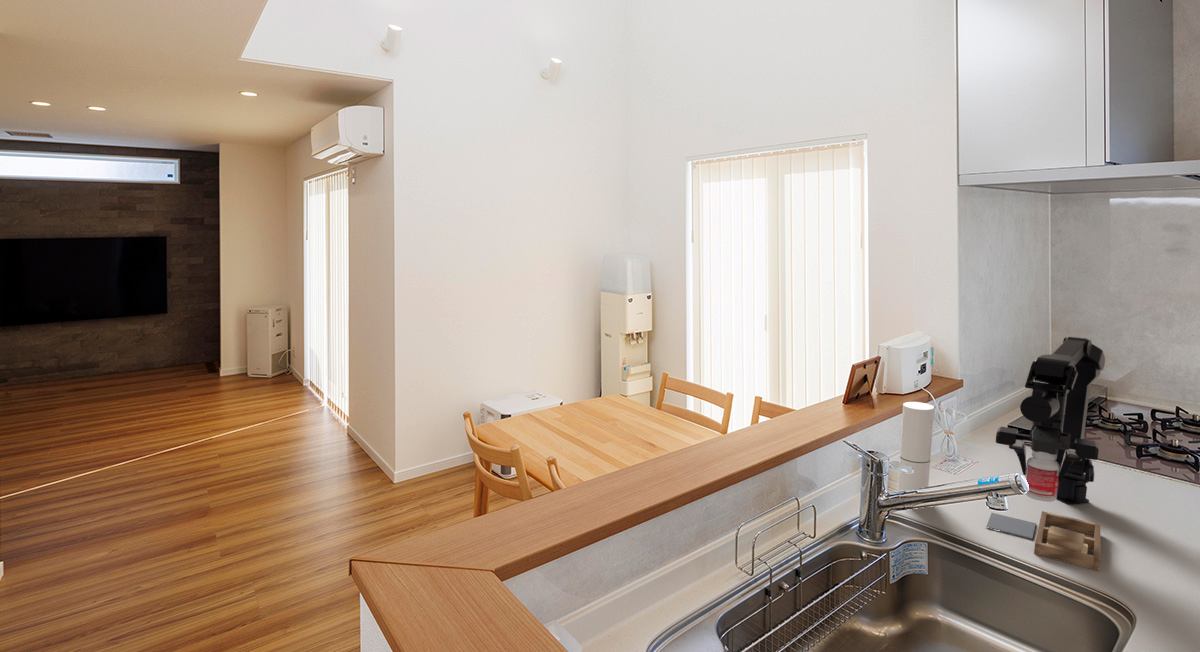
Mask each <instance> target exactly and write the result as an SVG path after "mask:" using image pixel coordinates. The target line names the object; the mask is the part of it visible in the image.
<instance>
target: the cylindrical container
mask: <svg viewBox="0 0 1200 652" xmlns="http://www.w3.org/2000/svg"><path fill="white" fill-rule="evenodd" d="M934 412H935V407H934V405H932V404H930V403H926V402H921V401H907V402H904V403H903V404H902V415H901V430H900V431H901V432H900V433H901V434H900V447H899V463H902V464H905V465H909V466H912V467H913V468H914V473H911V474H905V473H899V472H898V476H899V480H898V479H897V492H898V491H899V490H912V489H917V488H922V487H928V488H929V485H930V484H929V483H930V469H931V456H932V455H931V454H932V441H933V428H934V427H933V425H934V415H935V414H934ZM899 463H898V464H899Z"/></svg>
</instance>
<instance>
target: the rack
mask: <svg viewBox="0 0 1200 652" xmlns="http://www.w3.org/2000/svg"><path fill="white" fill-rule="evenodd" d="M1039 519H1040V520H1039V523H1038V524H1039V525H1038V528H1037V532H1036V537H1035V542H1034V551H1033V554H1034V555H1037V554H1038V556H1041V555H1042V557H1045V556H1046V557H1045V558H1048V557H1049V559H1052V558H1054V559H1053V560H1056V559H1058V560H1057V561H1060V560H1061V562H1064V561H1065V562H1064V563H1067V562H1069V563H1068V564H1072V565H1075V566H1079V567H1083V568H1087V569H1091V570H1093V571H1098V572H1099V571H1100V565H1101V564H1100V563H1101V534H1102V533H1101V527H1102V525H1101V523H1097V522H1092V521H1087V520H1083V519H1079V518H1074V517H1069V516H1066V515H1065V516H1064V515H1061V514H1056V513H1052V512H1048V511H1044V510H1042V511H1041V514H1040V518H1039ZM1046 524H1047V525H1050V526H1055V527H1058V528H1062V529H1066V530H1070V531H1074V532H1076V531H1077V532H1079V533H1083V534H1089V535H1091V536H1093V537H1090V536H1085V539H1084V544H1088V551H1091V552H1092V554H1088V553H1087V554H1084V553H1080V552H1076V551H1072V550H1068V549H1064V548H1060V547H1056V546H1052V545H1048V544H1047V543H1044V542H1043V539H1044V540H1047V536H1048V531H1049V529H1050V527H1048V526H1047V525H1046Z"/></svg>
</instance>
